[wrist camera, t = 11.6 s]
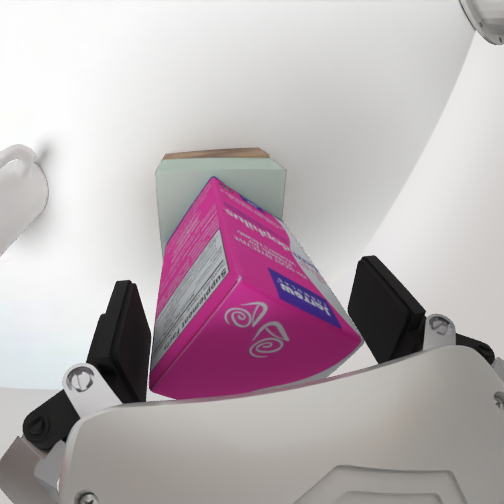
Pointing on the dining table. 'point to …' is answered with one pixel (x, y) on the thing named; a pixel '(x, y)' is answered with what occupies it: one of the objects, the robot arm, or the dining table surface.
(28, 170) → the mug
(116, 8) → the dining table surface
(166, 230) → the sage top block
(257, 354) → the supplement box
